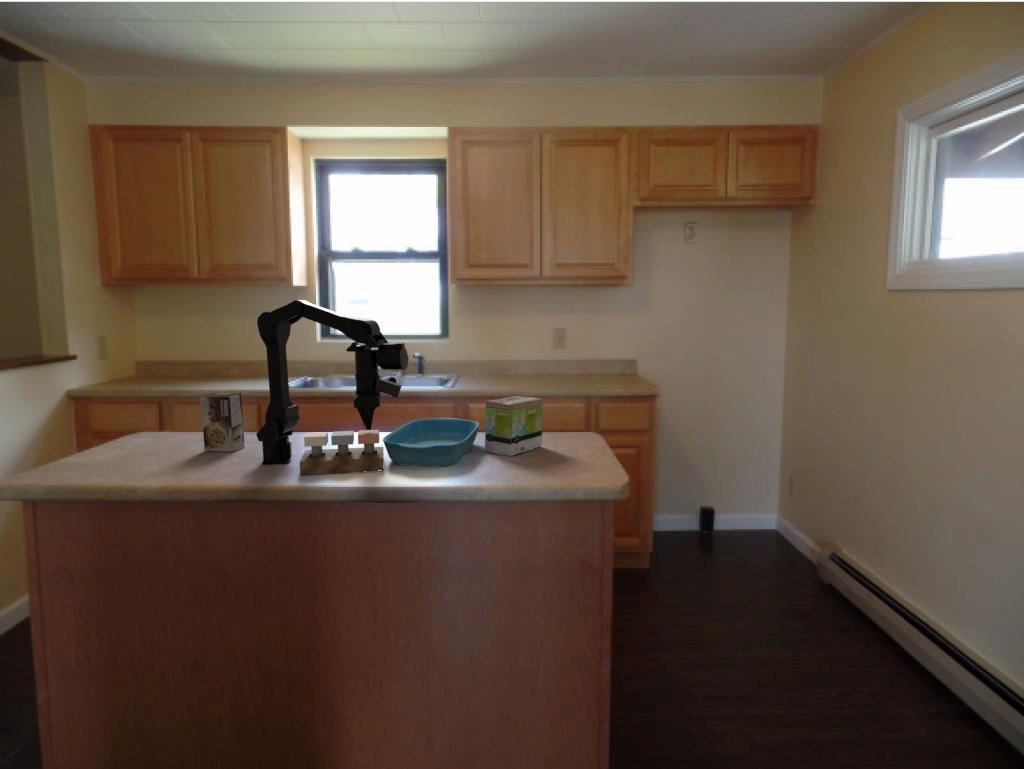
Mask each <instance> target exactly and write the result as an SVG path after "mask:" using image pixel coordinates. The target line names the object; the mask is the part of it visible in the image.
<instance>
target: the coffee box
mask: <svg viewBox="0 0 1024 769" xmlns="http://www.w3.org/2000/svg"><path fill="white" fill-rule="evenodd" d="M199 398H200V399H199V400H200V410H201V422H202V431H203V432H202V433H203V445H204V452H208V451H219V452H221V453H222V452H226V453H227V452H228V453H229V452H230V453H234V451H235V452H237V451H239V450H243V448H244V449H245V447H246V446H245V431H244V416H243V404H242V403H243V402H242V393H239V392H236V393H235V392H212V393H207V394H205V395H201V396H199Z"/></svg>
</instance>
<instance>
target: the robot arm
mask: <svg viewBox="0 0 1024 769" xmlns="http://www.w3.org/2000/svg"><path fill="white" fill-rule="evenodd" d="M303 318H304V319H307V320H310V321H312V322H315V323H318V324H321V325H324V326H326V327H329V328H331V329H334V330H337V331H338V332H341V333H342V334H343V335H344V336H345V337H346V338H349V339H350V340H352V341H353V342H352V343H351V344H350V345H349V346H348V347H347V348H346V349H345V351H346V352H348V353H354V366H355V367H354V368H355V369H354V371H355V372H354V373H355V374H354V378H355V395H356V396H354V398H353V408H354V409H357V412H358V414H359V416H360V419H361V421H362V423H363V425H364V428H366V429H365V430H372V424H373V421H374V413H375V410H376V409H377V408H380V407H381V393H382V394H385V395H388V396H391V397H392V398H396V399H398V397H399V396H400V392H401V390H402V384H400V383H397V377H394V376H390V377H389V378H388V379H386V378H381V374H380V372H379V367H380V368H381V369H382V370H383V371H384V370H385V371H387V370H388V371H406V369H407V368H408V365H409V355H408V350H407V348H406V346H405V345H406V344H405V342H397V343H389V342H388V340H387V338H386V337H385V336H384V335H383V333H382V332H381V329H380V328H381V327H380V325H379V323H378V322H377V321H375V320H373V319H368V318H362V317H355V316H349V315H348V316H347V315H345V314H341V313H340V312H337V311H333V310H331V309H328V308H325V307H322V306H320V305H317V304H315V303H311V302H310V301H308V300H305V299H294V300H292V301H291V302H289V303H288V304H285V305H283V306H280V307H278V308H276V309H273V310H272V311H263V312H262V313H260V314H259V316H257V319H256V326H257V330H258V334H259V337H260V339H261V340H262V343H264V346H265V348H266V360H267V362H266V364H267V376H268V388H269V389H268V390H269V404H268V405H267V408H266V411H265V417H264V425H263V426H262V427H261V428H260V429H259V430H258V431H257V432H256V434H255V435H256V438H257V441H258V442H261V443H262V461H261V464H262V465H269V464H287V463H289V461H290V460H291V459H292V457H293V453H292V452H293V451H292V449H293V448H292V442H291V441H290V436H292V435H293V432H294V429H295V428H296V427H297V426H298V424H299V420H300V421H301V417H300V416H299V414H300V413H299V410H300V409H299V408H300V407H299V405H298V404H293V402H292V400H291V398H290V387H289V372H288V356H287V344H288V341H289V338H290V336H291V328H292V326H293V325H294V324H296V323H297V322H299V321H300V320H301V319H303Z"/></svg>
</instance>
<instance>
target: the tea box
mask: <svg viewBox="0 0 1024 769" xmlns="http://www.w3.org/2000/svg"><path fill="white" fill-rule="evenodd" d="M543 409H544V399H543V398H538V397H529V396H523V395H515V396H509V397H503V398H497V399H492V400H491V399H490V400H486V401H485V428H484V429H485V430H484V433H485V434H484V435H485V436H484V438H485V439H484V450H485V452H488V453H492V454H497V455H502V456H506V455H507V456H508V457H512V456H515V455H518V454H520V453H524V452H528V451H532V450H535V448H536V449H539V448H538V447H540V448H542V447H541V446H543V445H542V444H543V421H544V420H543V416H544V415H543V412H544V411H543ZM507 456H506V457H507Z"/></svg>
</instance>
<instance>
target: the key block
mask: <svg viewBox="0 0 1024 769" xmlns="http://www.w3.org/2000/svg"><path fill="white" fill-rule="evenodd" d="M348 450H349V455H348V456H338V448H330V449H329V448H327V449H326V448H325V449H323V448H322V457H312V451H311V449H306V450H305V451H304V453H303V454H302V456H301V459H300V460H299V476H321V475H337V474H336V473H341V474H350V473H349V472H360V473H365V472H364V471H378V470H383V471H384V469H383V463H384V446H374V452H375V454H369V455H364V447H350V448H349V447H348ZM378 472H379V471H378Z"/></svg>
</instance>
